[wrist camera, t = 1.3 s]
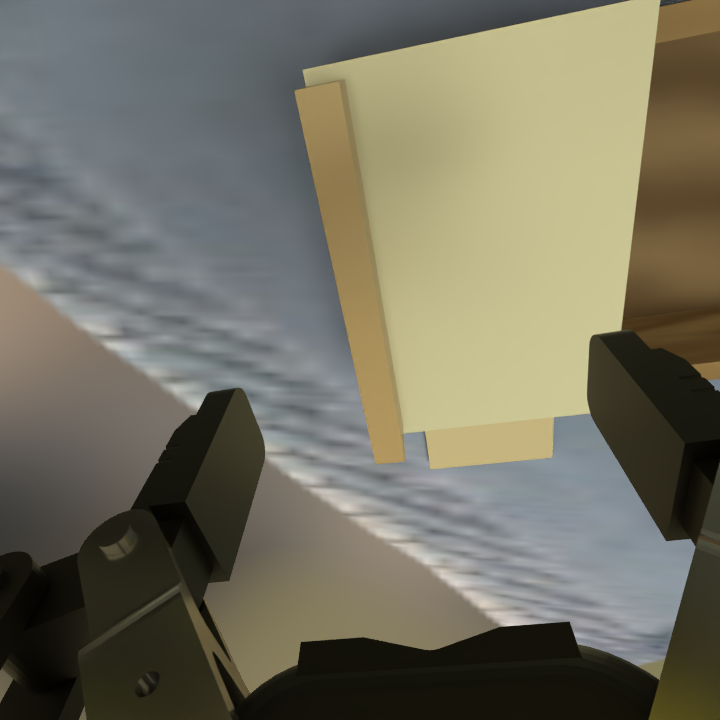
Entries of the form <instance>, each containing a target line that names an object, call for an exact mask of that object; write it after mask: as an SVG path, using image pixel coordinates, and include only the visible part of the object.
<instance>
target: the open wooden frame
mask: <svg viewBox="0 0 720 720" xmlns="http://www.w3.org/2000/svg"><path fill="white" fill-rule="evenodd" d="M628 329H630V330H633V331H634V332H635V333H636V334H637V335H638V336H639V337H640V338H641V339H642V340H643V341H644V342H645V343H646V344H647V346H648V347H649V348H650V349H657V348H663V349H665V350H667V351H669V352H671V353H673V354H675V355H678V356H680V357H682V358H684V359H686V360H687V361H688V362H689V363H690V364H691V365H692V366H693V367H694V368H695V369H696V370H697V371H698V372H699V373H700V374H701V377H702V378H703V377H704V378H706V379H707V380H713V379H720V0H689V1H684V2H679V3H674V4H670V5H665V6H660V7H659V16H658V24H657V32H656V41H655V49H654V58H653V66H652V75H651V83H650V91H649V100H648V108H647V117H646V125H645V134H644V142H643V150H642V159H641V167H640V176H639V184H638V192H637V201H636V209H635V218H634V226H633V235H632V243H631V251H630V260H629V268H628V277H627V285H626V294H625V302H624V310H623V319H622V327H621V330H628Z"/></svg>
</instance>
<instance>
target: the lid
mask: <svg viewBox="0 0 720 720" xmlns="http://www.w3.org/2000/svg"><path fill="white" fill-rule="evenodd" d="M659 7H660V0H630V1H625V2H621V3H616V4H611V5H606V6H602V7H597V8H592V9H587V10H583V11H578V12H573V13H569V14H564V15H559V16H554V17H550V18H545V19H540V20H536V21H531V22H526V23H521V24H517V25H512V26H507V27H503V28H498V29H493V30H488V31H484V32H479V33H474V34H469V35H465V36H460V37H455V38H451V39H446V40H441V41H436V42H432V43H427V44H422V45H418V46H413V47H408V48H403V49H399V50H394V51H389V52H384V53H380V54H375V55H370V56H366V57H361V58H356V59H351V60H347V61H342V62H337V63H333V64H328V65H323V66H318V67H314V68H309V69H304V70H303V74H304V79H305V84H306V87H304V88H301V89H298V90H295V91H294V92H295V96H296V101H297V106H298V110H299V115H300V119H301V124H302V129H303V133H304V138H305V142H306V147H307V151H308V156H309V161H310V165H311V170H312V174H313V179H314V184H315V188H316V193H317V197H318V202H319V206H320V211H321V216H322V220H323V225H324V229H325V234H326V239H327V243H328V248H329V252H330V257H331V261H332V266H333V271H334V275H335V280H336V284H337V289H338V294H339V298H340V303H341V307H342V312H343V317H344V321H345V326H346V330H347V335H348V339H349V344H350V349H351V353H352V358H353V362H354V367H355V372H356V376H357V381H358V385H359V390H360V394H361V399H362V404H363V408H364V413H365V417H366V422H367V427H368V431H369V436H370V440H371V445H372V449H373V454H374V459H375V463H376V464H383V463H393V462H403V461H405V451H404V433H411V432H420V431H430V430H439V429H448V428H458V427H467V426H476V425H485V424H495V423H504V422H513V421H523V420H532V419H541V418H550V417H560V416H569V415H578V414H588V413H590V410H589V406H588V401H587V379H588V360H589V343H590V339H591V337H592V336H593V335H595V334H602V333H608V332H615V331H621V327H622V319H623V310H624V302H625V294H626V285H627V277H628V268H629V260H630V251H631V243H632V235H633V226H634V218H635V209H636V201H637V192H638V184H639V176H640V167H641V159H642V150H643V142H644V134H645V125H646V117H647V108H648V100H649V91H650V83H651V75H652V66H653V58H654V49H655V41H656V32H657V24H658V16H659Z"/></svg>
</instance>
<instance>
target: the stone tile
mask: <svg viewBox="0 0 720 720" xmlns="http://www.w3.org/2000/svg"><path fill="white" fill-rule="evenodd" d="M553 426H554V417H550V418H541V419H532V420H523V421H513V422H504V423H495V424H485V425H476V426H467V427H458V428H448V429H439V430H430V431H425V433H426V440H427V448H428V455H429V462H430V469H438V468H449V467H459V466H469V465H479V464H490V463H500V462H510V461H521V460H531V459H541V458H551V457H552V451H553Z"/></svg>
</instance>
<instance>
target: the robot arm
mask: <svg viewBox="0 0 720 720" xmlns="http://www.w3.org/2000/svg"><path fill="white" fill-rule="evenodd" d="M587 401H588V406H589V410H590V413H591V416H592V418H593V420H594V422H595V424H596V425H597V427H598V429H599V430H600V432H601V434H602V435H603V437H604V439H605V440H606V442H607V444H608V445H609V447H610V449H611V450H612V452H613V454H614V455H615V457H616V459H617V460H618V462H619V464H620V465H621V467H622V469H623V470H624V472H625V474H626V475H627V477H628V479H629V480H630V482H631V483H632V485H633V487H634V488H635V490H636V492H637V493H638V495H639V497H640V498H641V500H642V502H643V503H644V505H645V507H646V508H647V510H648V512H649V513H650V515H651V517H652V518H653V520H654V522H655V523H656V525H657V527H658V528H659V530H660V532H661V533H662V535H663V536H664V538H665V540H666V541H672V540H682V539H691V540H692V542H693V543H694V545H695V546H696V548H695V552H694V555H693V559H692V563H691V566H690V570H689V574H688V577H687V581H686V585H685V588H684V592H683V596H682V599H681V603H680V607H679V610H678V614H677V618H676V621H675V625H674V629H673V632H672V636H671V640H670V643H669V647H668V651H667V654H666V658H665V662H664V665H663V669H662V673H661V676H660V680H659V679H657V678H656V677H654V676H652V675H651V674H650V673H648V672H647V671H645V670H643V669H641V668H639V667H637V666H636V665H634V664H632V663H630V662H628V661H626V660H624V659H622V658H619V657H617V656H615V655H612V654H610V653H607V652H604V651H601V650H598V649H594V648H591V647H587V646H582V645H578V644H577V642H576V639H575V636H574V633H573V630H572V628H571V625H570V622H560V623H546V624H533V625H520V626H507V627H499V628H496V629H493V630H490V631H488V632H485V633H482V634H479V635H476V636H473V637H471V638H468V639H465V640H462V641H459V642H457V643H454V644H451V645H449V646H445V647H443V648H440V649H436V650H423V649H418V648H413V647H408V646H403V645H398V644H393V643H388V642H383V641H379V640H374V639H369V638H364V637H363V638H350V639H336V640H324V641H310V642H301V645H300V653H299V660H298V665H296V666H293V667H291V668H289V669H287V670H285V671H283V672H281V673H279V674H277V675H275V676H274V677H272V678H271V679H269V680H268V681H266V682H265V683H263V684H262V685H261V686H259V687H258V688H257V689H256V690H254V691H253V692H252V693H251V694H250V692H249V690H248V688H247V687H246V685H245V683H244V681H243V679H242V677H241V675H240V673H239V671H238V669H237V667H236V664H235V663H234V660H233V658H232V656H231V653H230V651H229V649H228V647H227V645H226V643H225V640H224V638H223V636H222V634H221V632H220V629H219V627H218V625H217V623H216V621H215V618H214V616H213V614H212V612H211V610H210V607H209V605H208V603H207V602H206V600H205V598H204V594H205V591H206V588H207V585H208V583H212V582H223V581H229V580H230V576H231V573H232V569H233V566H234V563H235V559H236V556H237V552H238V549H239V546H240V542H241V539H242V535H243V532H244V529H245V525H246V522H247V518H248V515H249V511H250V508H251V505H252V501H253V498H254V494H255V491H256V488H257V484H258V481H259V477H260V474H261V471H262V467H263V463H264V459H265V446H264V440H263V437H262V434H261V431H260V429H259V426H258V424H257V421H256V419H255V416H254V414H253V411H252V409H251V406H250V404H249V401H248V399H247V396H246V394H245V392H244V391H243V390H242V389H241V388H234V389H227V390H221V391H214V392H209V393H208V394H207V395H206V397H205V399H204V401H203V403H202V405H201V407H200V409H199V410H198V412H197V414H196V415H191V416H190V417H189V418H188V419H187V420H186V421H184V422H183V423H182V424H181V426H179V427H178V428H177V429H176V430H175V431H174V433H173V435H172V437H171V438H170V440H169V442H168V444H167V445H166V450H164V451H163V453H162V454H161V456H160V458H159V460H158V461H159V463H157V464H156V465H155V467H154V469H153V470H152V472H151V474H150V476H149V478H148V479H147V481H146V483H145V484H144V486H143V488H142V490H141V492H140V493H139V495H138V497H137V499H136V500H135V502H134V504H133V506H132V508H131V509H130V510H128V511H125V512H122V513H119V514H117V515H115V516H113V517H111V518H109V519H108V520H106V521H104V522H103V523H102V524H100V525H99V526H98V527H97V528H96V529H94V530H93V531H92V532H91V533H90V535H89V536H88V537H87V538H86V539H85V541H84V542H83V544H82V546H81V547H80V550H79V552H78V553H76V554H74V555H71V556H68V557H65V558H63V559H60V560H57V561H55V562H52V563H49V564H47V565H44V566H41V567H40V566H39V565H38V564H37V563H36V562H35V561H34V559H33V558H32V557H31V556H30V555H29V554H28V553H25V552H11V553H7V554H5V555H1V556H0V670H1V668H2V669H3V670H4V671H5V672H6V673H7V674H9V675H10V676H11V677H12V678H13V681H12V683H11V684H10V686H9V688H8V690H7V692H6V693H5V695H4V697H3V699H2V701H1V703H0V720H79V718H80V715H81V713H82V710H83V708H84V706H85V712H86V719H87V720H720V392H719V391H718V390H716V391H715V389H714V386H713V385H712V384H711V383H710V382H709V381H708V380H707V379H706V378H704V377H703V378H702V377H701V374H700V373H699V372H698V371H697V370H696V369H695V368H694V367H693V366H692V365H691V364H690V363H689V362H688V361H687V360H686V359H684V358H682V357H680V356H678V355H675V354H673V353H671V352H669V351H667V350H665V349H663V348H657V349H650V348H649V347H648V346H647V344H646V343H645V342H644V341H643V340H642V339H641V338H640V337H639V336H638V335H637V334H636V333H635V332H634V331H633V330H630V329H628V330H621V331H615V332H608V333H602V334H595V335H593V336H592V337H591V339H590V343H589V360H588V379H587Z"/></svg>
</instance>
